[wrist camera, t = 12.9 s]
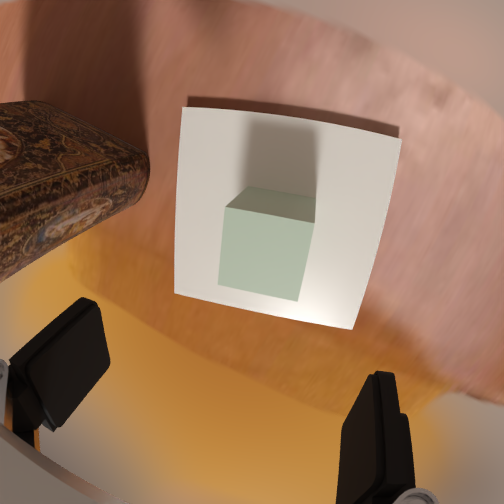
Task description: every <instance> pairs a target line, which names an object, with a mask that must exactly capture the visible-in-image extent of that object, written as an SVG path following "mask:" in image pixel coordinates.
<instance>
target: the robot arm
mask: <svg viewBox="0 0 504 504" xmlns="http://www.w3.org/2000/svg"><path fill="white" fill-rule="evenodd" d="M9 361H10V365H9V366H8V365H7V363H6V362H5V361H4V360H2V359H0V504H130V503H128V502H125V501H123V500H121V499H119V498H117V497H115V496H113V495H111V494H109V493H107V492H105V491H103V490H101V489H99V488H97V487H96V486H94V485H92V484H90V483H88V482H87V481H85V480H83V479H81V478H80V477H78V476H76V475H74V474H73V473H71V472H69V471H68V470H66V469H64V468H63V467H61V466H60V465H58V464H56V463H55V462H53V461H52V460H50V459H49V458H47V457H46V456H44V455H43V454H42V453H41V452H40V440H39V426H40V425H41V424H43V425H44V426H45V427H46V428H48V429H50V430H51V431H53V432H54V431H55V430H56V428H57V427H61V426H62V425H63V424H64V423H65V421H66V420H67V419H68V418H69V417H70V415H71V414H72V413H73V411H74V410H75V409H76V408H77V406H78V405H79V404H80V403H81V401H82V400H83V399H84V398H85V396H86V395H87V394H88V393H89V391H90V390H91V389H92V388H93V387H94V385H95V384H96V383H97V382H98V380H99V379H100V378H101V377H102V375H103V374H104V373H105V372H106V370H107V369H108V368H109V366H110V357H109V352H108V348H107V342H106V338H105V333H104V327H103V322H102V316H101V311H100V308H99V307H98V305H97V303H96V302H95V301H92V300H90V299H87V298H84V297H81V298H79V299H78V300H77V301H76V302H74V303H73V304H72V305H71V306H70V307H68V308H67V309H66V310H65V311H64V312H62V313H61V314H60V315H59V316H58V317H57V318H55V319H54V320H53V321H52V322H51V323H49V324H48V325H47V326H46V327H45V328H44V329H43V330H41V331H40V332H39V333H38V334H37V335H36V336H35V337H33V338H32V339H31V340H30V341H29V342H28V343H27V344H26V345H24V347H22V348H21V349H20V350H19V351H18V352H17V353H16V354H15V355H13V356H12V357H11V358H10V359H9ZM336 504H439V502H438V500H437V498H436V496H435V495H434V494H432V492H430V491H428V490H426V489H422V488H416V486H415V473H414V462H413V452H412V443H411V436H410V428H409V421H408V417H407V415H406V414H404V413H400V407H399V400H398V394H397V387H396V381H395V376H394V373H391V372H384V371H376V372H375V373H374V375H373V374H369V375H368V377H367V379H366V381H365V383H364V385H363V387H362V389H361V391H360V393H359V395H358V397H357V399H356V401H355V403H354V405H353V407H352V408H351V410H350V412H349V414H348V416H347V418H346V419H345V421H344V423H343V426H342V430H341V446H340V462H339V475H338V486H337V496H336Z"/></svg>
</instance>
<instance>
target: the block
mask: <svg viewBox="0 0 504 504" xmlns="http://www.w3.org/2000/svg"><path fill="white" fill-rule="evenodd" d="M315 210H316V198H311V197H306V196H301V195H296V194H290V193H285V192H279V191H274V190H268V189H262V188H257V187H251V186H248V187H246V188H245V189H244V190H243V191H242V192H241V193H240V194H239V195H237V196H236V197H235V198H234V199H233V200H232V201H231V202H230V203H229V204H227V205H226V206H225V211H224V221H223V231H222V242H221V252H220V263H219V275H218V285H221V286H226V287H230V288H235V289H239V290H244V291H248V292H253V293H258V294H262V295H267V296H272V297H277V298H282V299H286V300H291V301H296V302H298V298H299V294H300V289H301V285H302V281H303V276H304V272H305V267H306V263H307V258H308V253H309V249H310V244H311V239H312V234H313V230H314V225H315Z"/></svg>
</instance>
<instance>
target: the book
mask: <svg viewBox="0 0 504 504" xmlns="http://www.w3.org/2000/svg"><path fill="white" fill-rule="evenodd" d="M149 176H150V163H149V159H148V156H147V154H146V152H144V151H142V150H140V149H138V148H136V147H134V146H132V145H130V144H128V143H126V142H124V141H122V140H120V139H119V138H117V137H115V136H113V135H111V134H109V133H107V132H105V131H103V130H101V129H99V128H97V127H95V126H93V125H91V124H89V123H87V122H85V121H82V120H80V119H78V118H76V117H74V116H72V115H70V114H68V113H66V112H64V111H62V110H60V109H58V108H55V107H53V106H51V105H49V104H46V103H44V102H41V101H18V102H8V103H0V283H1V282H3V281H4V280H5V279H7V278H9V277H10V276H12V275H13V274H15V273H16V272H18V271H19V270H21V269H22V268H24V267H26V266H27V265H29V264H30V263H32V262H33V261H35V260H37V259H38V258H40V257H42V256H43V255H45V254H46V253H48V252H50V251H51V250H53V249H55V248H56V247H58V246H60V245H61V244H63V243H65V242H67V241H68V240H70V239H72V238H73V237H75V236H77V235H79V234H80V233H82V232H84V231H86V230H88V229H89V228H91V227H93V226H95V225H97V224H98V223H100V222H102V221H104V220H106V219H108V218H110V217H111V216H113V215H115V214H117V213H119V212H121V211H123V210H125V209H127V208H129V207H131V206H132V205H134V204H136V203H137V202H138V201H139V200H140V198H141V197H142V196H143V194H144V192H145V190H146V187H147V184H148V181H149Z"/></svg>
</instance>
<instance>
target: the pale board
mask: <svg viewBox="0 0 504 504" xmlns="http://www.w3.org/2000/svg"><path fill="white" fill-rule="evenodd" d="M401 143H402V139H398V138H395V137H391V136H387V135H383V134H378V133H374V132H370V131H365V130H361V129H356V128H352V127H347V126H342V125H337V124H331V123H326V122H320V121H315V120H309V119H302V118H296V117H289V116H282V115H274V114H266V113H258V112H249V111H238V110H227V109H213V108H196V107H183V109H182V119H181V131H180V143H179V157H178V173H177V192H176V217H175V293H176V294H181V295H185V296H189V297H193V298H197V299H201V300H206V301H210V302H214V303H219V304H223V305H228V306H232V307H237V308H241V309H246V310H251V311H255V312H260V313H265V314H270V315H275V316H280V317H285V318H290V319H295V320H300V321H306V322H311V323H316V324H322V325H327V326H333V327H339V328H345V329H351V330H352V329H353V326H354V323H355V320H356V317H357V314H358V311H359V308H360V305H361V302H362V299H363V296H364V293H365V290H366V287H367V284H368V280H369V277H370V274H371V270H372V267H373V264H374V260H375V257H376V253H377V249H378V246H379V242H380V238H381V235H382V231H383V227H384V223H385V219H386V215H387V211H388V206H389V202H390V198H391V193H392V189H393V184H394V179H395V174H396V169H397V164H398V159H399V154H400V148H401ZM248 186H251V187H257V188H262V189H268V190H274V191H279V192H285V193H290V194H296V195H301V196H306V197H311V198H316V210H315V225H314V230H313V234H312V239H311V244H310V249H309V253H308V258H307V263H306V267H305V272H304V276H303V281H302V285H301V289H300V294H299V298H298V302H296V301H291V300H286V299H282V298H277V297H272V296H267V295H262V294H258V293H253V292H248V291H244V290H239V289H235V288H230V287H226V286H221V285H218V275H219V263H220V252H221V242H222V231H223V221H224V211H225V206H226V205H227V204H229V203H230V202H231V201H232V200H233V199H234V198H235V197H236V196H237V195H239V194H240V193H241V192H242V191H243V190H244V189H245V188H246V187H248Z"/></svg>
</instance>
